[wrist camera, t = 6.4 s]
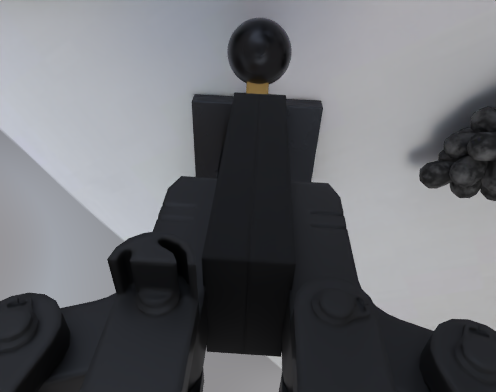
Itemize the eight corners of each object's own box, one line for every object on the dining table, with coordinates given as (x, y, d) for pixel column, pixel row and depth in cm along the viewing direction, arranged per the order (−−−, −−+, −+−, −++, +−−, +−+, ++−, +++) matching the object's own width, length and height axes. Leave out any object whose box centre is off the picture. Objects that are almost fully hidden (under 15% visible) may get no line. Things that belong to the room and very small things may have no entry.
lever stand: (194, 94, 28) (149, 207, 17) (321, 100, 28) (351, 218, 17) (200, 221, 35) (172, 354, 25) (301, 227, 35) (313, 363, 25)
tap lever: (231, 22, 21) (226, 9, 18) (291, 26, 21) (296, 13, 18) (221, 281, 24) (215, 307, 21) (272, 284, 24) (274, 311, 21)
